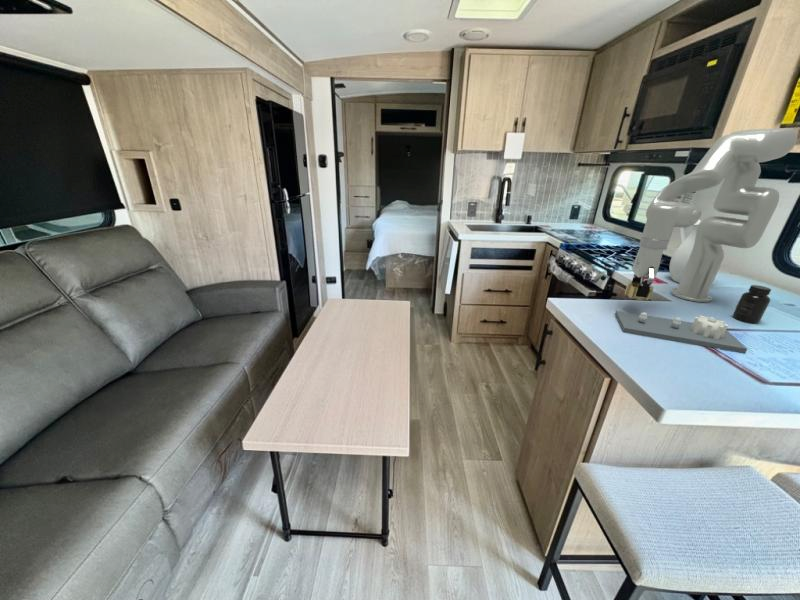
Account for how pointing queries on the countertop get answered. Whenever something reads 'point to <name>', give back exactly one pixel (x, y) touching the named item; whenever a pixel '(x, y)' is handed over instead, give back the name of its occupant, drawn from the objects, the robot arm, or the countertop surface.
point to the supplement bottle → (752, 304)
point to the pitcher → (683, 253)
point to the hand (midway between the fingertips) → (638, 292)
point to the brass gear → (632, 291)
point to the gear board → (681, 330)
